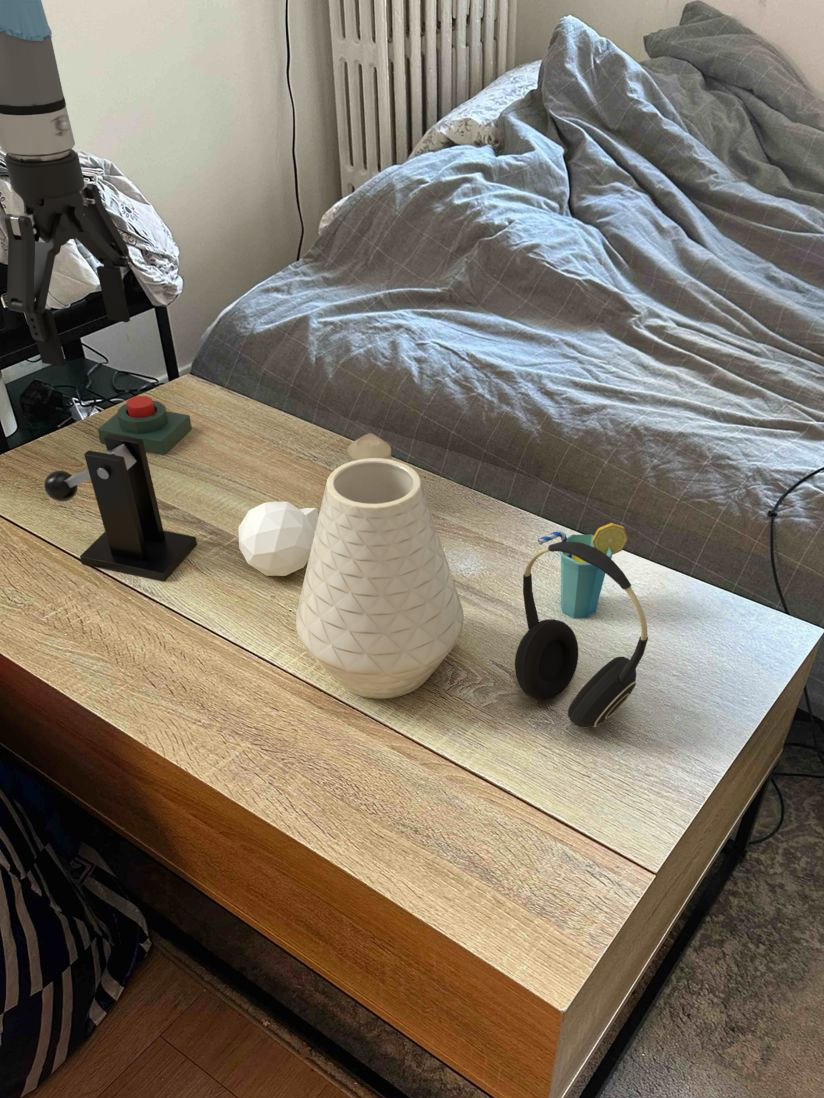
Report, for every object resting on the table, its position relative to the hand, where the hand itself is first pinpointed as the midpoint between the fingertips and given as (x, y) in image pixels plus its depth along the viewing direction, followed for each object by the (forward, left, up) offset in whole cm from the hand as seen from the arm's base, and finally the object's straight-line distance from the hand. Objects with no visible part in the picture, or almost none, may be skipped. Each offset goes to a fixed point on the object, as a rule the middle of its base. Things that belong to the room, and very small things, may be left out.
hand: (88, 341), depth 119 cm
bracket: (+12, -15, -19) cm, 27 cm away
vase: (+47, -25, -19) cm, 56 cm away
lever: (+8, -15, -10) cm, 20 cm away
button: (-2, +11, -15) cm, 19 cm away
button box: (-2, +11, -19) cm, 22 cm away
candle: (+35, +4, -19) cm, 40 cm away
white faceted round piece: (+30, -11, -19) cm, 37 cm away
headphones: (+68, -25, -19) cm, 75 cm away
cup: (+65, -9, -19) cm, 68 cm away
